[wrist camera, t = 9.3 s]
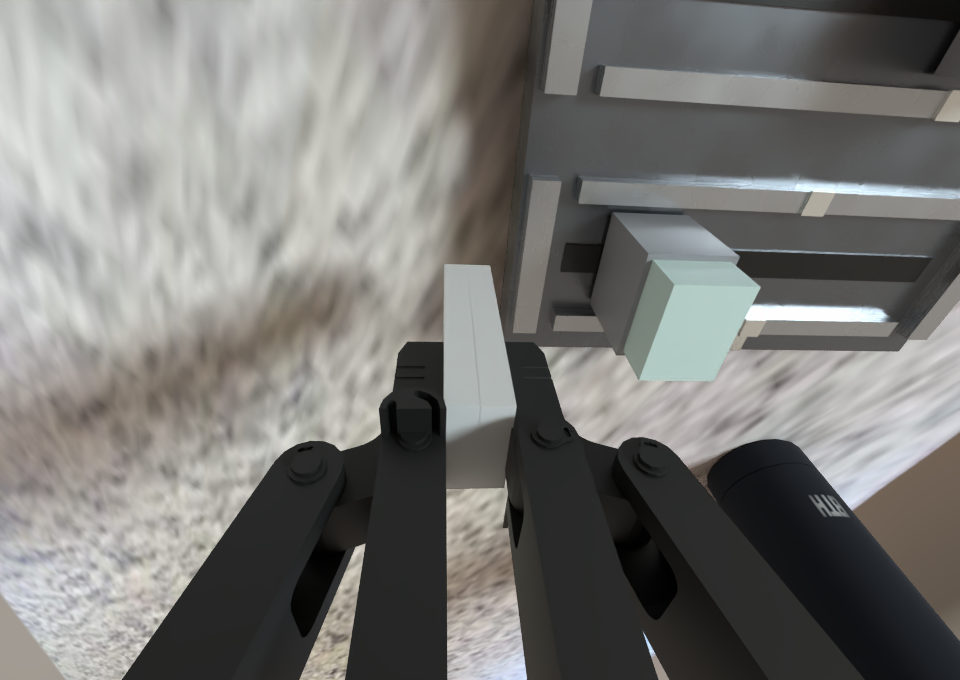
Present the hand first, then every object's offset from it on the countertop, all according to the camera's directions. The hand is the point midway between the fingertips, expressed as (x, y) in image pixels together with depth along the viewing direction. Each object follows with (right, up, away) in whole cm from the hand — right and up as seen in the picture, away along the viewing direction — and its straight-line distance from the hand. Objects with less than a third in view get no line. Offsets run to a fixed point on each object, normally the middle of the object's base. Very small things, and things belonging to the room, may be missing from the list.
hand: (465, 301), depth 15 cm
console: (+12, +7, +2) cm, 14 cm away
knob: (+7, +2, +3) cm, 8 cm away
